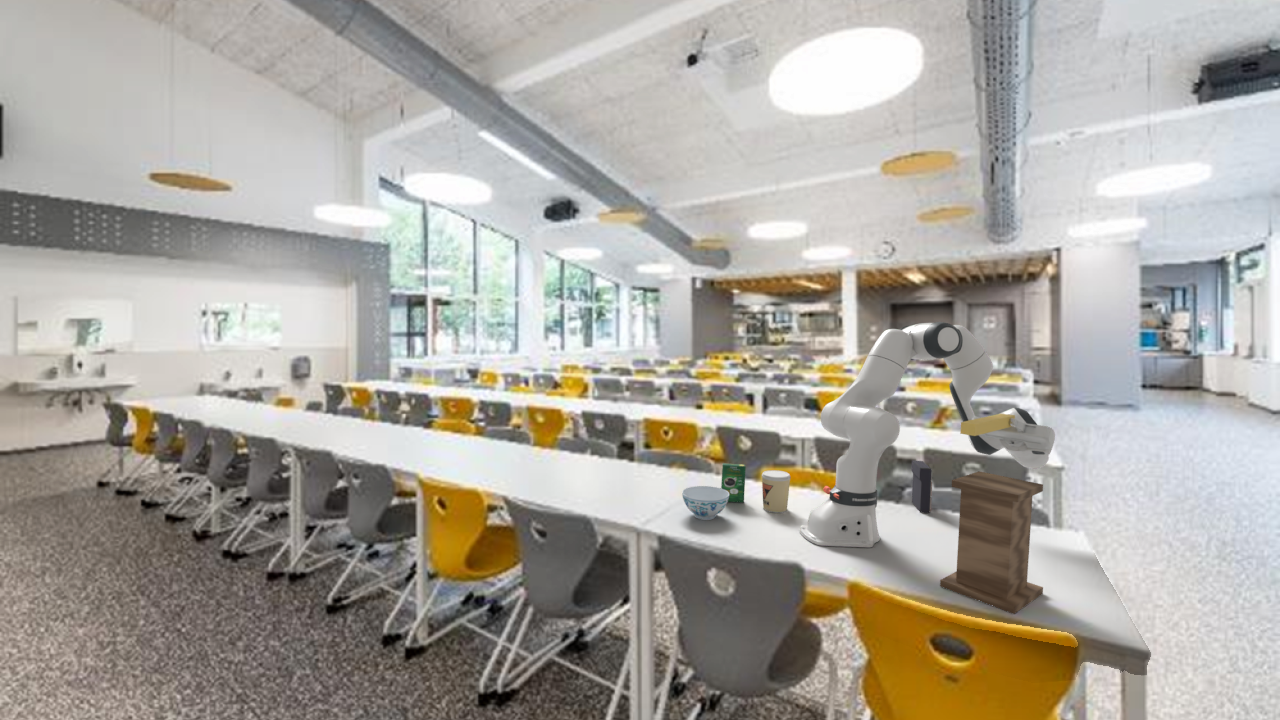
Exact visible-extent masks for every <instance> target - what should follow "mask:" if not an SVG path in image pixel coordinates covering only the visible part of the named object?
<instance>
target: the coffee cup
mask: <svg viewBox="0 0 1280 720" xmlns="http://www.w3.org/2000/svg"><path fill="white" fill-rule="evenodd" d="M790 481H791V475H790V473H788V472H787V471H783V470H775V469H773V470H772V469H771V470H765V471H763V472H762V474H761V482H762V483H761V484H762V485H761V486H762V487H761V488H762V507H763V510H765V511H766V512H769V513H774V514H775V513H776V514H777V513H778V514H779V513H786V512H787V511H788V506H789V505H788V504H789V493H790Z"/></svg>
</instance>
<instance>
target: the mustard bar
mask: <svg viewBox="0 0 1280 720" xmlns="http://www.w3.org/2000/svg"><path fill="white" fill-rule="evenodd" d="M1010 418H1013V419H1015V415H1009V414H1000V413H997V414H993V415H988V416H983V418H978V419H974V420H969V421H964V422H963V421H961V422H960V435H961V434H962V435H966V436H968V435H972V436H977V435H981V434H985V433H989V432H993V431H997V430H1001V429H1005V428H1008V427H1012V426H1010V425H1009V421H1010V420H1009V419H1010Z"/></svg>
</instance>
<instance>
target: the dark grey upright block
mask: <svg viewBox="0 0 1280 720" xmlns="http://www.w3.org/2000/svg"><path fill="white" fill-rule="evenodd" d="M910 469H911V470H910V471H911V473H912V487H911V488H912V490H911V504H912V505H913V507H915V509H917V511H918V510H919V511H920V512H919V511H918V512H919V513H922V512H924V513H925V514H929V513H930V512H932V495H933V482H932V480H933V469H932V468H931V467H930V466H929V465H928V464H927V463H926V462H925V461H923V460H911V468H910ZM924 513H923V514H924Z"/></svg>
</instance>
